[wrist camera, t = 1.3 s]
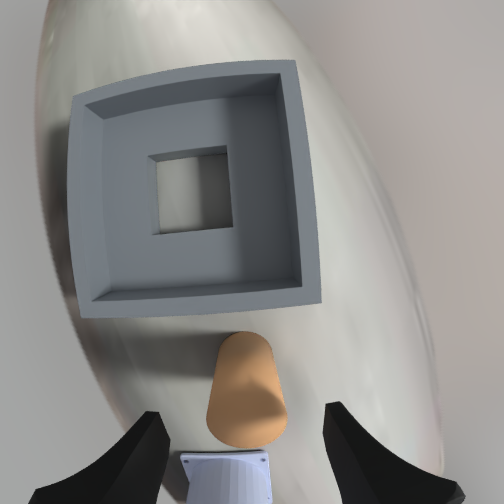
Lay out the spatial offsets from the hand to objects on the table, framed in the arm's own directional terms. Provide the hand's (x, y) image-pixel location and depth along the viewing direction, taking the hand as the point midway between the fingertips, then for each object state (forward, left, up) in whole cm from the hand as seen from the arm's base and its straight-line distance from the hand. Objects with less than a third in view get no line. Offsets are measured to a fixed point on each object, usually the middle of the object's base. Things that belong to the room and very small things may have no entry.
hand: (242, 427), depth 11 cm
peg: (-1, 0, -10) cm, 10 cm away
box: (+11, +2, -10) cm, 15 cm away
